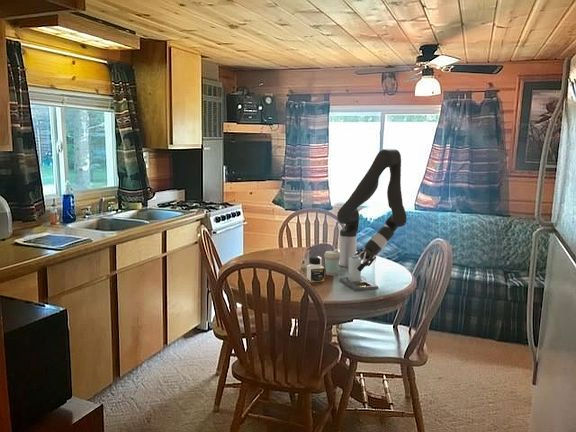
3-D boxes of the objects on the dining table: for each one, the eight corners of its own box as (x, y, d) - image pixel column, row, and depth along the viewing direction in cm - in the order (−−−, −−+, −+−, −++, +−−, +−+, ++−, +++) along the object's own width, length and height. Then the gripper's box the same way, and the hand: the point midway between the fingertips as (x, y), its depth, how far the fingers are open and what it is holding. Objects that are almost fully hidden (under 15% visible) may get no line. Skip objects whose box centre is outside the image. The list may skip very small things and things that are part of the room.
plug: (348, 281, 240) (348, 255, 238) (356, 280, 241) (357, 254, 239) (352, 283, 235) (352, 257, 233) (360, 282, 237) (361, 256, 235)
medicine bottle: (310, 282, 238) (311, 258, 236) (306, 278, 244) (306, 255, 242) (324, 281, 239) (324, 258, 238) (319, 277, 246) (320, 254, 244)
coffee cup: (339, 277, 247) (339, 254, 245) (322, 276, 249) (323, 253, 247) (340, 272, 255) (341, 250, 254) (324, 271, 257) (325, 250, 255)
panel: (339, 280, 240) (339, 277, 240) (361, 278, 244) (361, 276, 244) (355, 291, 224) (355, 288, 223) (378, 289, 227) (378, 286, 227)
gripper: (364, 236, 244) (343, 260, 242) (378, 241, 231) (356, 266, 229) (373, 246, 247) (353, 269, 245) (387, 251, 233) (366, 276, 231)
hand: (354, 268), depth 237 cm, fingers open, 8 cm apart
